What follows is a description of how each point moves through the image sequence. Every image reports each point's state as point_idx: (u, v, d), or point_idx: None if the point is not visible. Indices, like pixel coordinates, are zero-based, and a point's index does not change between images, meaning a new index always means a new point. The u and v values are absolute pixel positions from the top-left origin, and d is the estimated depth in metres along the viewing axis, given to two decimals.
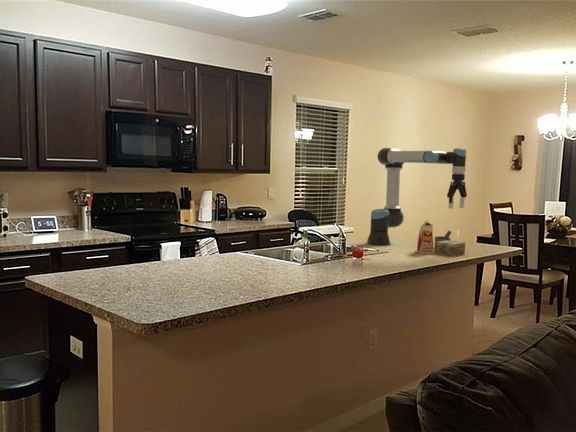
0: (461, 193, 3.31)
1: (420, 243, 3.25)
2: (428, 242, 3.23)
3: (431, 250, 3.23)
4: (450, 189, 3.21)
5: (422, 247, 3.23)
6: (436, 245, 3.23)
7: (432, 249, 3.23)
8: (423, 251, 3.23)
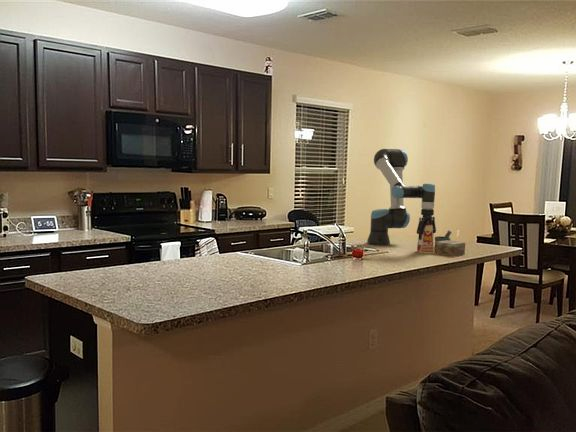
0: None
1: None
2: (428, 242, 3.23)
3: (431, 250, 3.23)
4: (419, 225, 3.21)
5: (422, 247, 3.23)
6: (436, 245, 3.23)
7: (432, 249, 3.23)
8: (423, 251, 3.23)
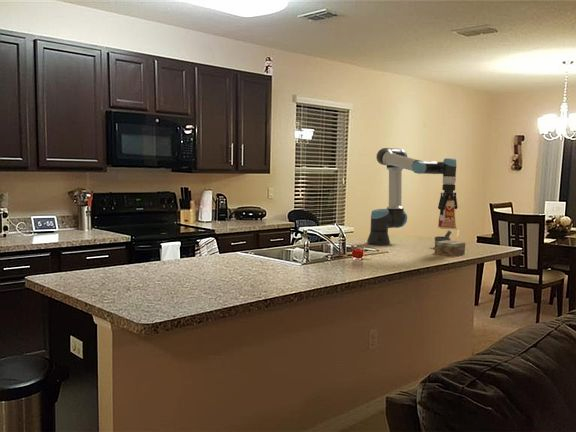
0: None
1: None
2: (450, 218, 3.18)
3: (452, 226, 3.18)
4: (441, 201, 3.16)
5: (444, 223, 3.18)
6: (436, 245, 3.23)
7: (454, 224, 3.18)
8: (445, 227, 3.19)
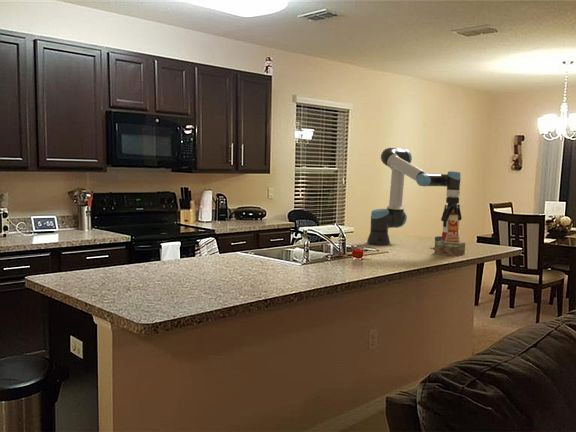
0: None
1: (445, 233, 3.21)
2: (453, 232, 3.19)
3: (456, 240, 3.19)
4: (444, 213, 3.16)
5: (447, 237, 3.19)
6: (436, 245, 3.23)
7: (457, 239, 3.19)
8: (448, 241, 3.19)
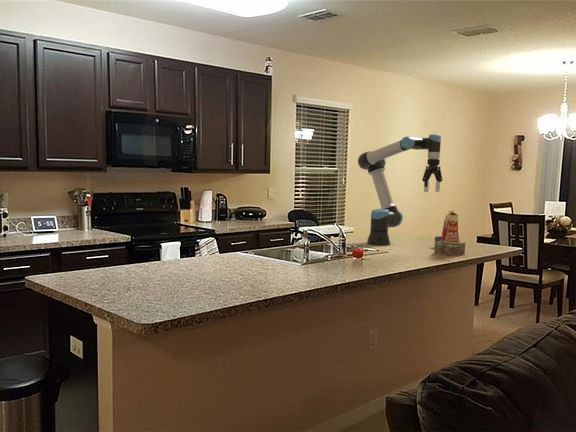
0: (437, 177, 3.44)
1: (445, 233, 3.21)
2: (453, 232, 3.19)
3: (456, 240, 3.19)
4: (425, 173, 3.35)
5: (447, 237, 3.19)
6: (436, 245, 3.23)
7: (457, 239, 3.19)
8: (448, 241, 3.19)
